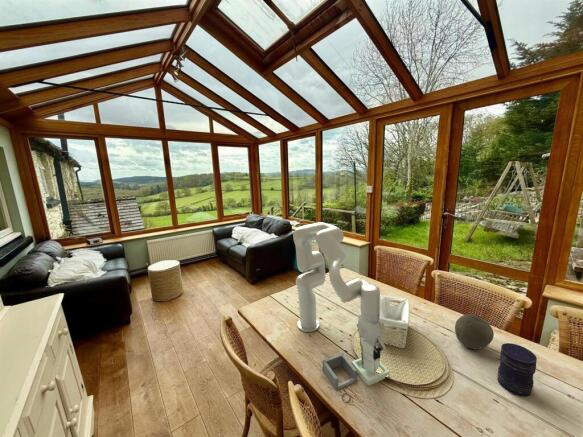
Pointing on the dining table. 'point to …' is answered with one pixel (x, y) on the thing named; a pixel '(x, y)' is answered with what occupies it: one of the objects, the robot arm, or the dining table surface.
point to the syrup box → (368, 357)
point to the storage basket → (394, 320)
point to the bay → (335, 362)
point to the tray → (370, 373)
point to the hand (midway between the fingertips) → (369, 351)
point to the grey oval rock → (473, 331)
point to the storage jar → (516, 369)
